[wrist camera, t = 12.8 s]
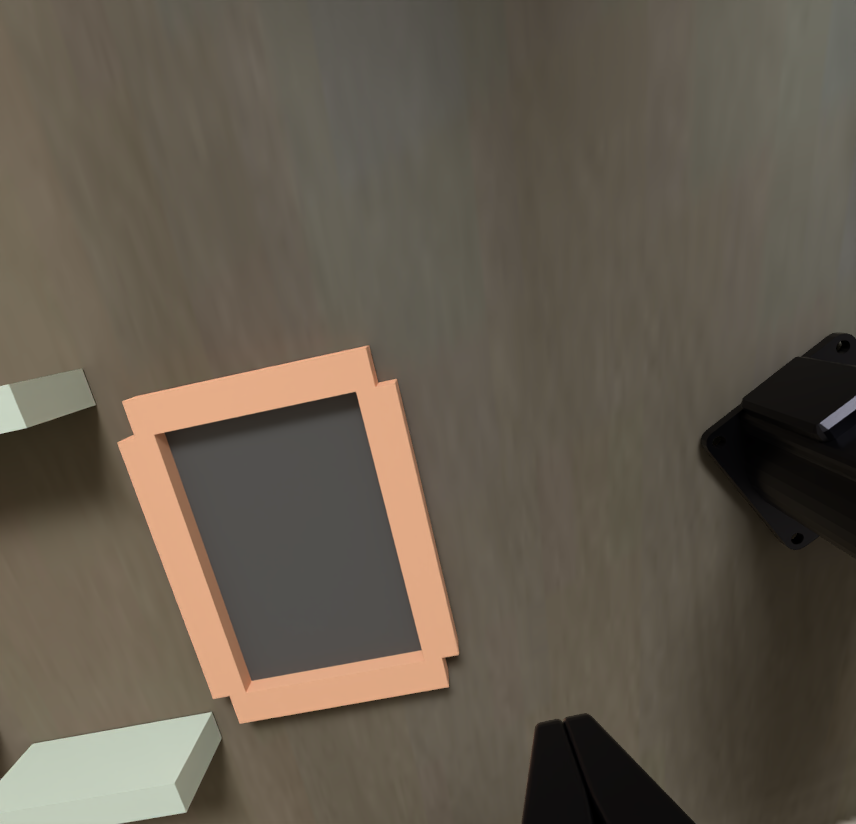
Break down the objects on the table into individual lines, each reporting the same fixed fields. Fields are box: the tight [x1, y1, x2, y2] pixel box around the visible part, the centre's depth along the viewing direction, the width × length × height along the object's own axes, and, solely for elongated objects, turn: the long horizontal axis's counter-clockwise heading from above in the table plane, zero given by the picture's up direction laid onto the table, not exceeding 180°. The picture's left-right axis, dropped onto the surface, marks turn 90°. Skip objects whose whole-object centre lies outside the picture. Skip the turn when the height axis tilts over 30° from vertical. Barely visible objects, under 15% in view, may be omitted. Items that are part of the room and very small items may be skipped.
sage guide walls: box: [0, 369, 222, 824], centre depth 20 cm, size 9×18×4 cm, turn 12°
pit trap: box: [117, 345, 459, 724], centre depth 21 cm, size 11×15×1 cm
